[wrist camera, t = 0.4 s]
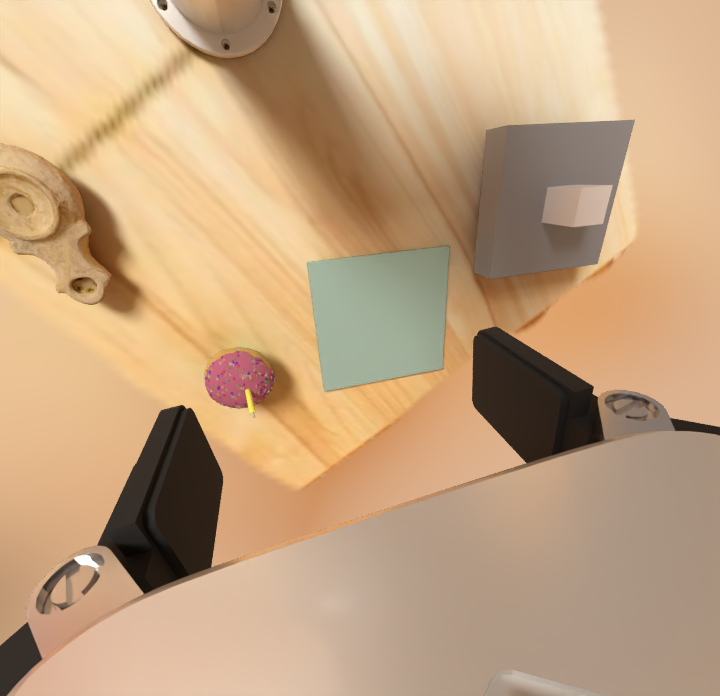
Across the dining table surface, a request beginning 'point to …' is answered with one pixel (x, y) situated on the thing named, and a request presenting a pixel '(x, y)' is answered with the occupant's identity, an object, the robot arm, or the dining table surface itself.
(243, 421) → the dining table surface
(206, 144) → the dining table surface
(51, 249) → the oil lamp
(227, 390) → the cupcake
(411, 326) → the mat
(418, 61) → the dining table surface
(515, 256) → the cover
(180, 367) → the dining table surface
